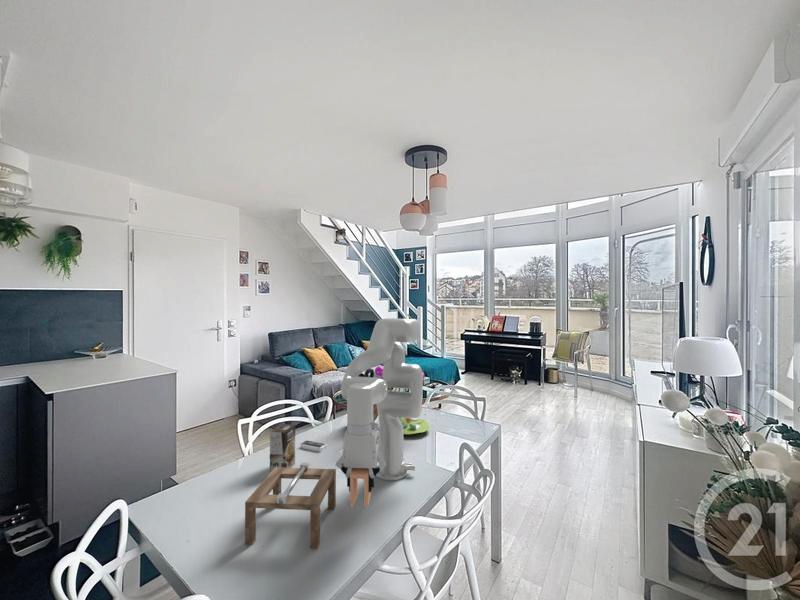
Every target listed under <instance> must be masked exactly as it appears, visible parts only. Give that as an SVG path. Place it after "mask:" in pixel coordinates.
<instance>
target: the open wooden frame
mask: <svg viewBox="0 0 800 600" xmlns="http://www.w3.org/2000/svg"><path fill="white" fill-rule="evenodd" d="M299 470H300V467H291V468H286V467H275V468H274V469H273V471H272V472H269V474H268V475H267V477H266V478H265V479H264V480H263V481H262V482H261V483H260V484H259V486H258V487H256V489H255V490H254V491H253V492H252V493H251V495H250V496H249V497H248V498H247V499H246V500H245V502H244V512H245V513H244V545H246V546H253V545H254V543H255V541H257V540H256V538H257V537H256V536H257V534H256V531H257V527H256V525H257V523H256V521H257V519H256V517H257V516H256V515H257V511H256V510H257V509H273V510H297V511H298V510H299V511H300V510H301V511H310V516H309V517H310V533H309V535H310V536H309V539H310V546H309V547H310V548H309V549H311V550H312V549H313V550H318V549H319V546H320V543H321V536H320V535H321V519H320V518H321V506H322V503H323V501H324V499H325V497H326V495H327V509H328V510H334V511H335V508H336V505H337V503H336V502H337V500H336V497H337V496H336V494H337V490H336V489H337V487H336V486H337V481H336V479H337V477H336V476H337V469H336V468H312V467H311V468H310V467H309V469H308V471H304V473H303V474H302V476H301V477H300V479H299V480H318V481H317V482H316V484H315V486H314V488H313V490H312V492H311V493H310V495H290V494H289V495H288V501H287V502H286V504H282V503H277V496H278V495H279V493H282V479H291V480H293V479H294V477H295V476H296V475H297V473H298V472H299ZM271 492H272V494H270V493H271Z"/></svg>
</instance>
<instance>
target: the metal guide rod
mask: <svg viewBox="0 0 800 600" xmlns="http://www.w3.org/2000/svg"><path fill="white" fill-rule="evenodd" d="M299 468H300V470H299V472H298V473H297V475H296V476H295V477H294V479H291V482H290V483H289V484H288V486H287V487H286V489H285V490H284V492H283V493H282V492H281V493H279V495H278V496H277V503H282V504H286V502H287V501H288V495H290V493H291V492H292V491H293V489H294V487H295V486H296V485H297V483H298V482H299V480H301V479H300V477H301V476H302V474H303V473H304V471H308V469H309V468H310V463H309V462H301V463H300V464H299Z"/></svg>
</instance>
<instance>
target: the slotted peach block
mask: <svg viewBox="0 0 800 600" xmlns="http://www.w3.org/2000/svg"><path fill="white" fill-rule="evenodd" d="M359 480H364V481H363V483H364V485H363V487H364V488H363V491H364V492H363V496H364V497H363V498H364V500H363V503H364V504H363V507H364V508H369V504H370V500H371V496H372V491H371V492H369V471H368V468H352V471H351V473H350V491H349V493H350V494H349V502H350V505H349V506H350V507H354V506H355V504H356V502H357V497H358V495H359V493H358V489H359V488H358V486H359V485H358V481H359Z"/></svg>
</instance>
